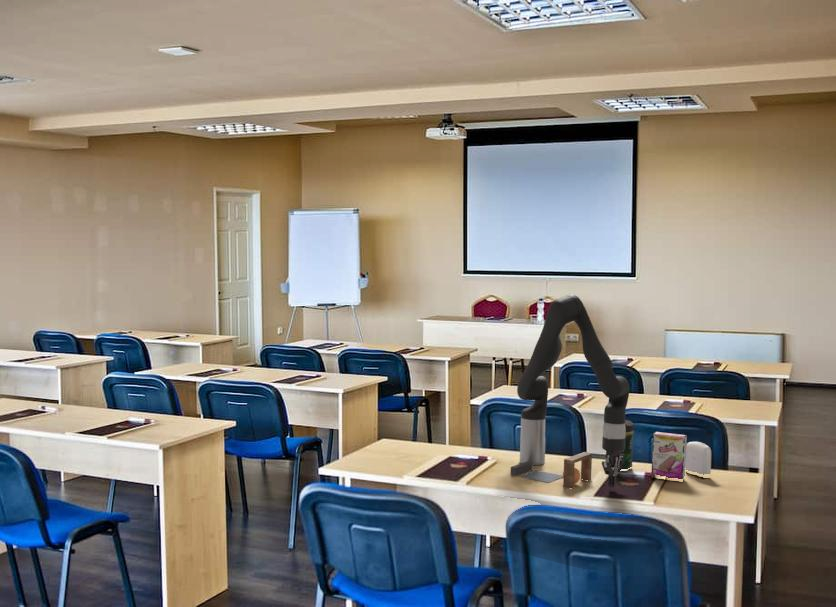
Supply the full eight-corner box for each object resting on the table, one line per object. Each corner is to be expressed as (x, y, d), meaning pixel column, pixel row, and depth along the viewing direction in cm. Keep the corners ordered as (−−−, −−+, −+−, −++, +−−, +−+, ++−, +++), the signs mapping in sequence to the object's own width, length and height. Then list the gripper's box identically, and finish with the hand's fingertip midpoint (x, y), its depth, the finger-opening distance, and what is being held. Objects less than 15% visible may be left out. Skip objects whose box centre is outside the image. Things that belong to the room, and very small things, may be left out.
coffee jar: (627, 473, 315) (629, 423, 314) (606, 470, 319) (608, 421, 318) (634, 468, 324) (636, 419, 323) (613, 465, 328) (615, 417, 327)
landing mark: (535, 470, 316) (535, 470, 316) (564, 476, 309) (565, 475, 309) (518, 476, 307) (518, 476, 307) (548, 482, 300) (548, 482, 300)
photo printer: (682, 472, 319) (684, 439, 318) (691, 471, 321) (693, 439, 320) (703, 479, 309) (704, 445, 309) (712, 478, 311) (713, 444, 311)
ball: (562, 473, 303) (574, 462, 301) (573, 486, 301) (585, 476, 299) (556, 474, 298) (569, 464, 296) (567, 488, 296) (580, 478, 294)
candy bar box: (650, 479, 308) (652, 433, 308) (653, 476, 313) (654, 431, 312) (683, 483, 304) (685, 437, 303) (685, 480, 308) (686, 434, 307)
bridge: (563, 487, 294) (564, 459, 294) (583, 478, 306) (584, 451, 306) (570, 488, 293) (571, 460, 292) (591, 480, 304) (592, 453, 304)
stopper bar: (527, 469, 319) (527, 461, 318) (532, 470, 317) (532, 462, 317) (510, 475, 309) (510, 466, 309) (515, 476, 308) (515, 467, 308)
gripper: (612, 431, 298) (610, 480, 299) (594, 437, 288) (593, 488, 288) (632, 434, 293) (630, 484, 294) (615, 440, 283) (613, 492, 284)
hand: (612, 486), depth 291 cm, fingers closed
